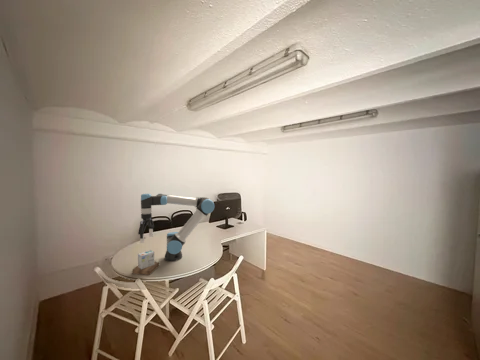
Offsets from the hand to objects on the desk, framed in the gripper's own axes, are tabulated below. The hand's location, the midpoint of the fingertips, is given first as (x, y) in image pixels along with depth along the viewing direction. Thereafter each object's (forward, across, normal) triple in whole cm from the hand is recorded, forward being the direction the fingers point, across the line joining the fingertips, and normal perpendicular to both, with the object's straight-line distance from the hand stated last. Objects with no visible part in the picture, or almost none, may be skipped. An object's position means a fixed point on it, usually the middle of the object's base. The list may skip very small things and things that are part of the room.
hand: (146, 239), depth 158 cm
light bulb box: (+21, +2, 0) cm, 21 cm away
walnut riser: (+24, +2, 0) cm, 24 cm away
